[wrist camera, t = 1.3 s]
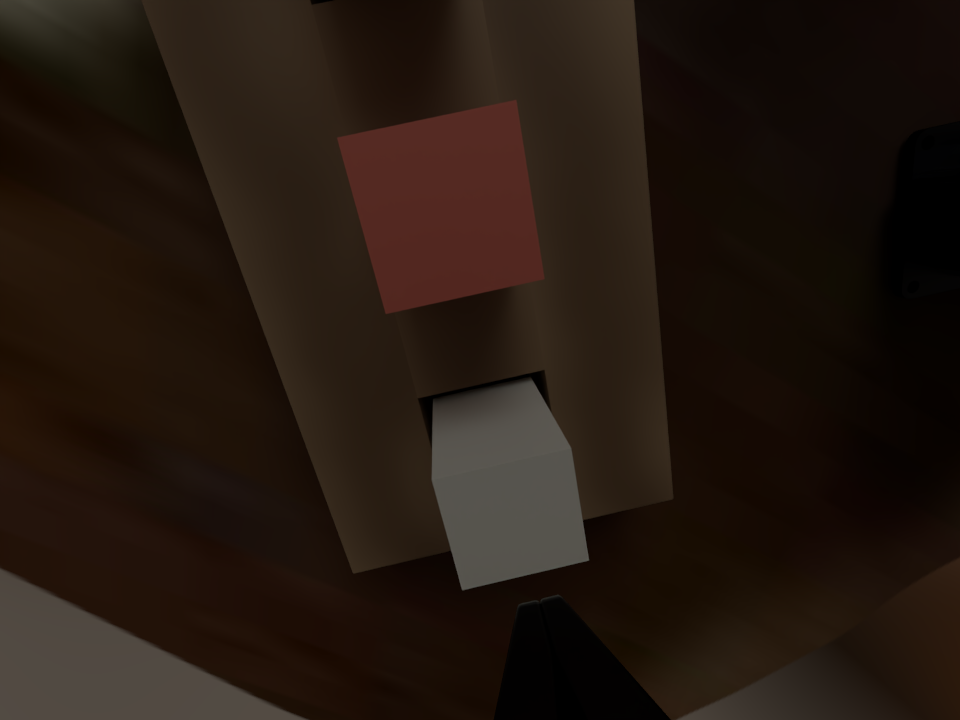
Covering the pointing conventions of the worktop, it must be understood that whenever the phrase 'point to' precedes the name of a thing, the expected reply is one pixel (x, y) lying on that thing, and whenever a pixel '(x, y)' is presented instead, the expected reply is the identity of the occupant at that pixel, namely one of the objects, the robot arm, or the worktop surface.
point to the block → (346, 261)
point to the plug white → (505, 484)
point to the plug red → (445, 205)
